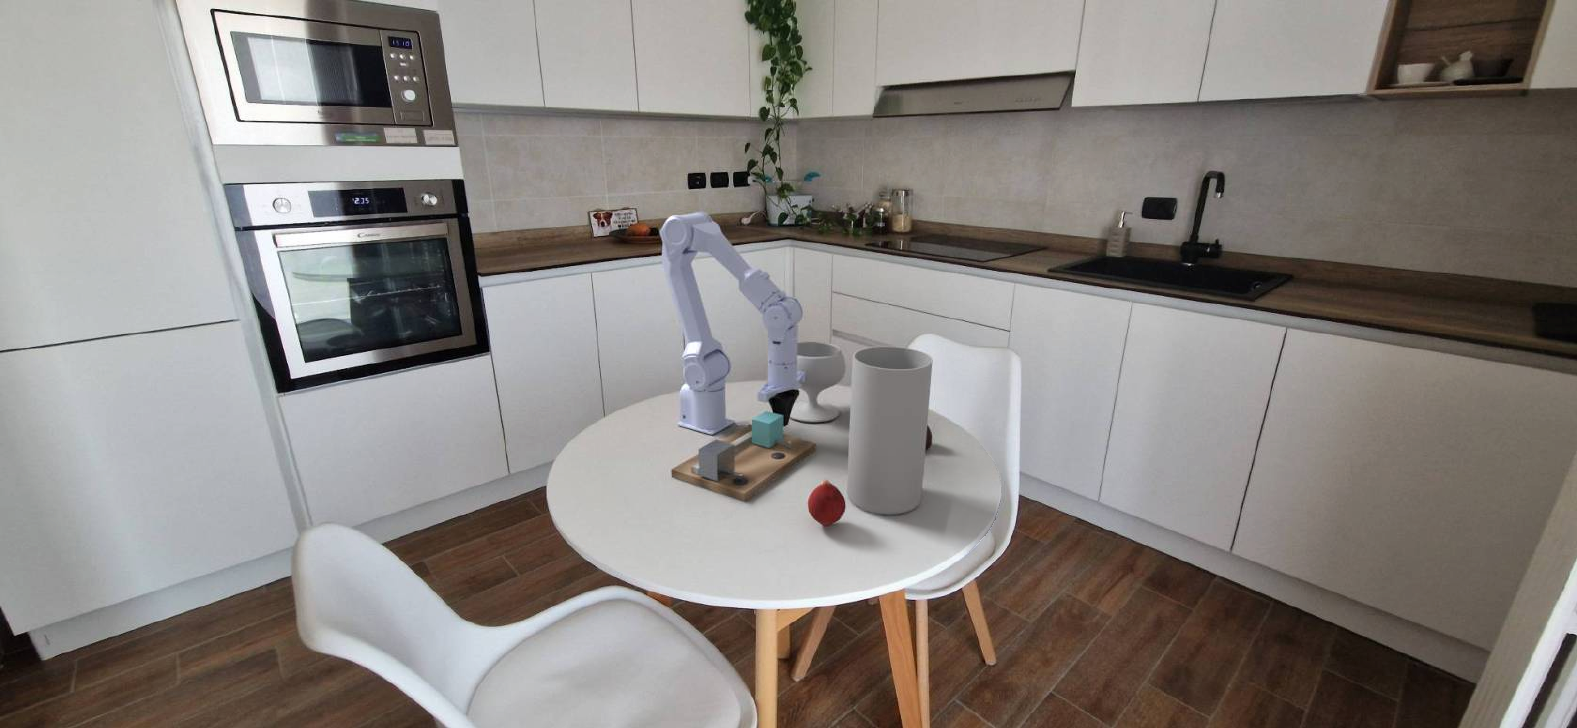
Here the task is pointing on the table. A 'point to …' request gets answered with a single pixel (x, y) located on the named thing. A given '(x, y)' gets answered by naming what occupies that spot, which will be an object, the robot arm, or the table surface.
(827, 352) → the chalice
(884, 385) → the cylinder vase
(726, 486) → the board
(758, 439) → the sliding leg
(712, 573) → the table surface
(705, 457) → the fixed leg
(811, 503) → the onion
